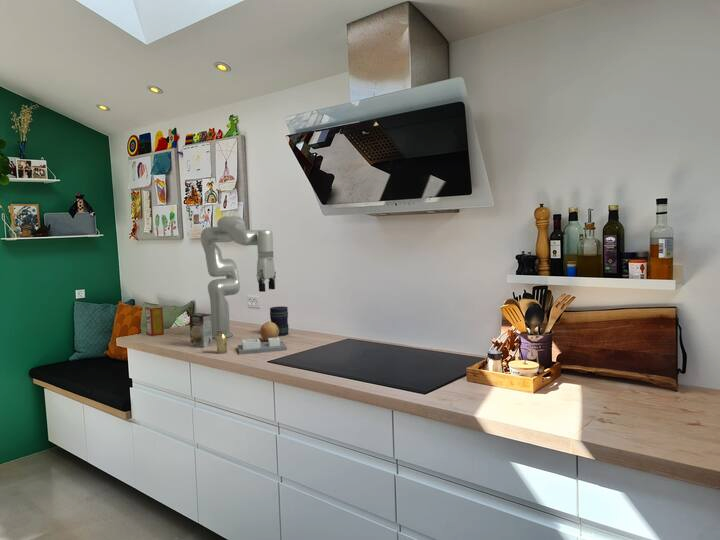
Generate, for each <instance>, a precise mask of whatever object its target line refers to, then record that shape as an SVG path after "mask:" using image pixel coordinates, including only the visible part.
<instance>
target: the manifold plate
mask: <svg viewBox="0 0 720 540" xmlns="http://www.w3.org/2000/svg"><path fill="white" fill-rule="evenodd" d="M287 350H288V347H287V345H286V344H285V343H284V341H281V339H280V336H278V337H277V338H268V341H267V342H261V340H260V338H258V337H257V338H248V339H241V344H238V345H237V351H238V353H239V355H246V354H248V355H249V354H257V353H258V354H259V353H266V352H267V353H269V352H280V351H287Z"/></svg>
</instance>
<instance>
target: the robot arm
mask: <svg viewBox="0 0 720 540" xmlns="http://www.w3.org/2000/svg"><path fill="white" fill-rule="evenodd" d="M245 222H246V221H245V220H244V219H243V218H242V217H240V216H222V217H220V218H219V219H218V220H217V223H216V225H217V226H209V227H205V228H204V229H203V230H201V232H200V242H201V246H202V248H203V251H204V254H205V261H206V268H207V272H208V275H209V276H210V277H213V278H215V279H212V280H210V281H209V282H208V284H207V293H208V295H209V302H210V314H211V326H212V340H213V339H216V340H217V334H216V332H218V331H226V339H227V338H232V337H233V336H234V333H233V332H231V324H230V306H229V301H228V300H227V298H226V296H227V297H228V296H233V295H237V294H238V293H239V292H240V288H241V286H240V278H239V273H238V272H239V271H238V267H237V264H236V262H235V261H234V260H233V259H231V258H223V256H222V254H223V253H222V250H221V248H220V247H219V246H218V245H217V244H216V243H230V242H234V243H236V244H239V245H241V246H246V247H247V246H257V247H256V248H257V261H256V279H257V283H258V291H259V293H261V292H262V293H264V292H266V280H267V279H268V290H275V289H276V270H275V263H274V238H273V237H274V236H273V235H274V234H273V231H272V229H271V230H270V229H247V227H246V223H245ZM246 229H247V230H246ZM218 277H226V278H218ZM216 278H218V279H216Z"/></svg>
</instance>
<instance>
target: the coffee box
mask: <svg viewBox="0 0 720 540" xmlns="http://www.w3.org/2000/svg"><path fill="white" fill-rule="evenodd" d="M189 332H190V334H189V335H190V336H189V337H190V347H195V348H203V349H204V348H205V349H206V348H208V347H210V346H213V338H212V323H211V313H200V312H198V313H194V314H189Z"/></svg>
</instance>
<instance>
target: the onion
mask: <svg viewBox="0 0 720 540" xmlns="http://www.w3.org/2000/svg"><path fill="white" fill-rule="evenodd" d="M259 331H260V333H259V335H260V336H261V338H262V339H263V340H265V341H267V342H268V338H277V337H279V336H278V335H279V329H278V326H277V325H276V324H275V323H273V322H271V321H266V322H265V323H263V324H262V325H261V327H260V330H259Z"/></svg>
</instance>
